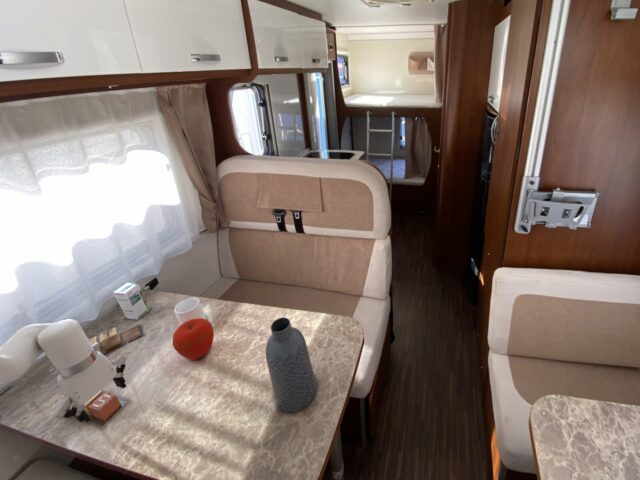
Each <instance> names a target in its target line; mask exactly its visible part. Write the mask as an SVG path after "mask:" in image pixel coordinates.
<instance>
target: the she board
mask: <svg viewBox="0 0 640 480" xmlns="http://www.w3.org/2000/svg"><path fill="white" fill-rule="evenodd" d="M103 393H104V391H103V390H102V389H101V390H100V391H99V392H98V393H96V394H95V395H94V396H93V397H92V398H91V399H89V400H88V401H87V402H86V403H84V406H83V409H82V410H83V411H85V412H86V413H87V415H88V416H89V418H90V421H89V422H90V423H92V424H95V425H98V426H101V427H104V426H105V424H107V422H109V421H110V420H111V419H112V418H113V417H114V416H115V415H116V414H117V413H118V412H119V411H120V410H121V409H122V408H123V407H124V406H125V405H126V404H127V403H128V401H127V400H124V399H120V398H118V400H119V402H120V403H121V406H120V407H119V408H118V409H117V410H116V411H115V412H114V413H113V414H112V415H111V416H110V417H109V418H108V419H107V420H106V421H105V420H102V419H99V418H96V417H94V415H93V414H92V412H91V411H90V409H89V408H88V406H89V405H90V404H92V403H93V402H94V401H95V400H96V399H97V398H98V397H99V396H101V395H102V394H103ZM61 399H62V401H63V400H64V399H65V398H64V396H63V395H62V397H61ZM71 405H72V403H70V404H69V405H68V406H67V408H66V409H65V411H67V410H70V408H71ZM77 406H78V405H77Z"/></svg>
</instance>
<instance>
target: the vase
mask: <svg viewBox="0 0 640 480" xmlns="http://www.w3.org/2000/svg"><path fill="white" fill-rule="evenodd" d="M270 332H271V334H270V336H269V338H268V339H267V342H266V344H265V360H266V364H267V369H268V375H269V378H270V382H271V386H272V391H273V395H274V400H275V404H276V406H277V407H278V408H279V409H280V410H281V411H282V412H285V413H290V414H291V413H296V412H299V411H302V410H303V409H305V408H306V407H307V406H308V405H310V403H311V402H312V401H313V399H314V397H315V395H316V391H317V380H316V377H315V374H314V369H313V364H312V361H311V357H310V354H309V350H308V345H307V342H306V339H305V337H304V335H303V333H302V332H301V330H299V329H298V328H297V327H294V326H292V323H291V320H290V319H289V318H287V317H280V318H277V319H275V320H274V321H273V322H272V323H271V325H270Z"/></svg>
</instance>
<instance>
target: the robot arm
mask: <svg viewBox="0 0 640 480" xmlns="http://www.w3.org/2000/svg"><path fill="white" fill-rule="evenodd" d="M89 339H90V338H88V336H87V334H86V333H85V331H84V329H83V328H82V326H81V325H80V323H79V321H78V320H76V319H73V318H66V319H62V320H58V321H55V322H47V323H46V322H45V323H44V322H43V323H32V324H28V325H25V326H22V327H21V328H19V329H18V330H17V331H15V332H14V333H13V334H12V336H10V337H9V338H8V339H7V340H6V341H5V342H4V343H3V344H2V345H1V346H0V385H4V384H8V383H11V382H14V381H16V380H18V379H19V378H21V377H22V376H24V374H25V373H27V371H28V370H29V369H30V368H31V367H32V366H33V364H34V363H35V362H36V361H37V360H38V359H39V357H40V356H41V355H42V354H43V353H44V354H45V355H46V357H47V358H48V359H49V361H50V363H51V364H52V366H53V367H54V369H56V371H57V372H58V373H59V374H58V375H57V377H56V381H57V385H58V387H59V389H60V392H61V394H62V397H63V396H64V398H65V399H64V400H63V399H62V401H61V403H60V404H59V405H58V407H57V408H56V410H55V411H54V413H53V414H52V416H53V417H54V418H63V419H68V418H72V417H74V418H75V419H76V420H77V421H78V422H79V423H83V422H86V423H89V422H90V418H89V416H88V415H87V413H86V412H85V411H83V410H82V409H83V406H84V403H86V402H87V401H88V400H89V399H91V398H92V397H93V396H94V395H95V394H96V393H98V392H99V391H100V390H101V391H102V389H103V388H105V387H106V385H108V384H109V383H110V382H112V381H113V382H114V384H115V386H116V387H118V388H121V389H126V387H127V384H126V379H125V377H124V375H125V373H124V371H125V369H126V362H127V357H126V356H120V357H117V358H114V359H112V360H109V359H108V358H107V357H106V356H105V355H103V354H102V353H100V352H99V351H97V348H98V347H99V346H100V344H99V343H100V342H99V343H98V342H97V343H95V344H93V345H92V344H91V342H90V341H89ZM116 365H117V366H116ZM115 366H116V368H115ZM70 403H72V405H71V408H70V410H67V411H65V409H66V408H67V406H68V405H69V404H70ZM77 405H78V406H77Z"/></svg>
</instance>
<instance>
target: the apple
mask: <svg viewBox="0 0 640 480" xmlns="http://www.w3.org/2000/svg"><path fill="white" fill-rule="evenodd" d="M214 336H215V332H214V326H213V324H212V323H211V322H210V321H209V320H208V319H207V318H206V319H203V318H195V319H191V320H188V321H186V322H184V323H183V324H182V325H180V324H179V326H178V327H177V329H176V330H175V331H174V333H173V335H172V347H173V349H174V350H175V351H176V353H178V354H179V355H180V356H182V357H183V358H185V359H187V360H189V361H196V360H199V359H201V358H203V357H205V356H206V355H207V354H208V353H209V352H210V350H211V348H212V346H213V341H214Z"/></svg>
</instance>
